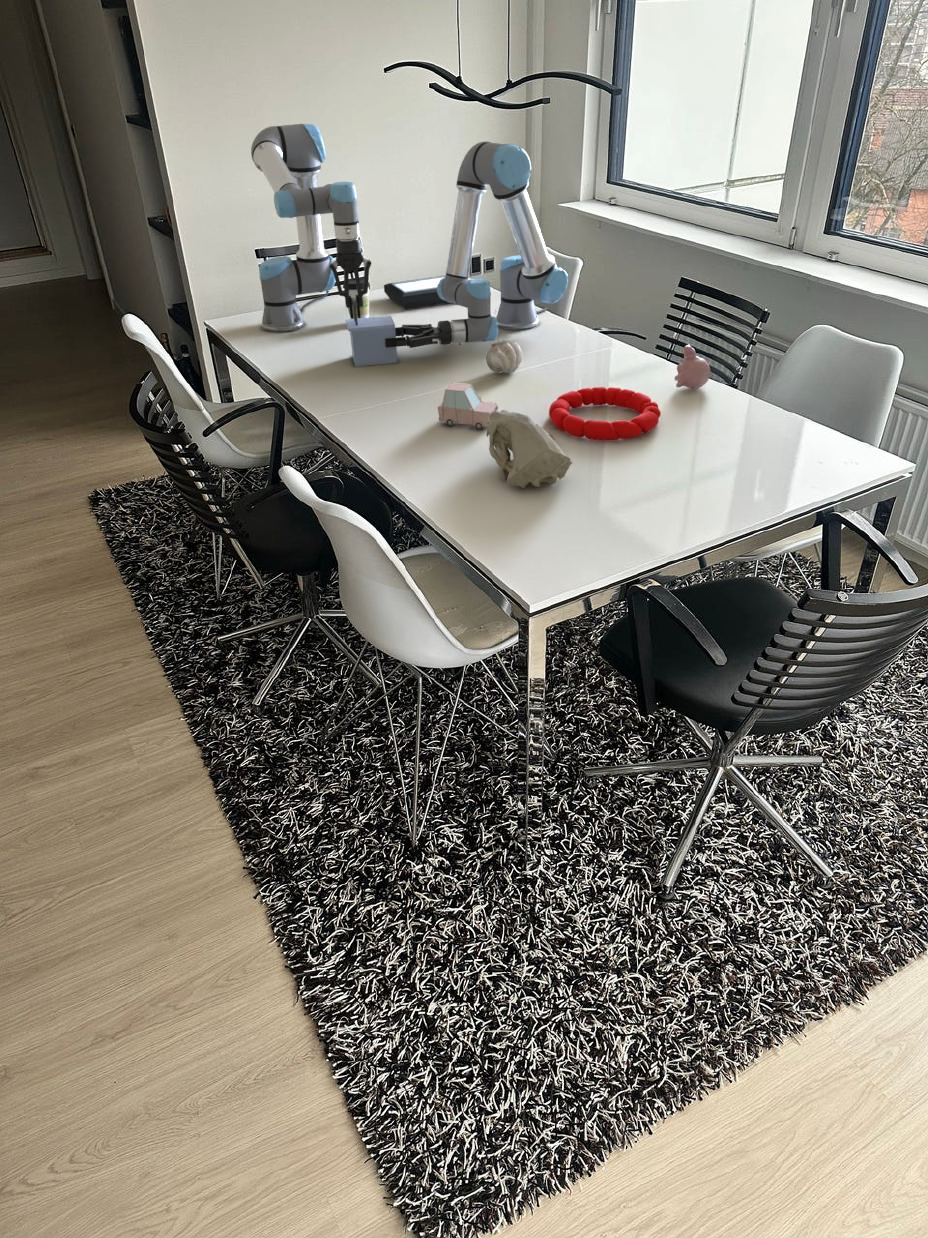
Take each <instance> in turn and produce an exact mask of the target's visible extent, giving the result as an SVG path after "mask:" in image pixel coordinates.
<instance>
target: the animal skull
mask: <svg viewBox="0 0 928 1238" xmlns="http://www.w3.org/2000/svg"><path fill="white" fill-rule="evenodd" d="M485 436H486V438H487V437H489V438H488V440H489V444H488V445H489V446H488V450H489V454H490V456H491V457H492V458H493V459H494V460H495V462H496V464H497V466H499V468H500V470H501V471H502V472H501V478H502V479H507V480H506V484H507V486H517V487H518V486H519V488H523V489H524V488H526V486H527V485H529V483H531V485H533V486H534V487H536V488H540V485H541V484H542V482H544V483H549V484H550V485H553V484H555V483H556V482H557V480H561V479H563V478H565V476H566V474H567V472H568V471H569V469H570V467H571V466H572V464H573V462H572V461H571V458H570V457H568V456H567V455H565V453H564V451H562V449H561V448H560V446H559V444H557V443H556V439H555V438H554V436H553V435H551V434H550V433H548V432H547V431H546V430H545V429H544V428H542V427H541V426H539V425H538V424H537V423H536V424H535V422H534V421H533V419H532V418H531V417H530V416H529V415H527V414H524V413H519V412H515V411H509V410H507V409H502V410H500V411H499V410H497V411H496V412H492V413H491V414H490V422H488V423H487V427H486V435H485ZM511 453H512V454H511ZM511 455H512V457H513V458H512V460H511ZM507 474H508V475H507Z"/></svg>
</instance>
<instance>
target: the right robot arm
mask: <svg viewBox="0 0 928 1238" xmlns="http://www.w3.org/2000/svg"><path fill="white" fill-rule="evenodd" d="M531 170H532V164H531V160H530V157H529V155H528V153H527V152H526V151H525V149H523V147H520V146H519V145H515V144H512V143H499V142H491V141H480V142H477V143H476V144H473V146H471V147H470V149H468V151H467V152H466V154H465V155H464V157H463V159H462V161H461V164H460V166H459V170H458V174H457V179H456V185H455V187H456V188H457V190H458V193H457V199H456V206H455V211H454V212H455V213H454V217H453V226H452V232H451V236H450V237H451V238H450V243H449V244H450V245H449V252H448V258H447V264H446V270H445V275H446V276H445V275H444V276H445V277H444V278H442V279H441V280H440V282H439V284H438V285H437V293H438V296H439V297H440V298H441V299H442V300H445V301H447V302H449V303H448V304H454V305H456V306H460V307H463V308H466V309H467V318H460V319H459V318H458V319H451V320H439V321H438V322H437V326H436V327H435V326H434V327H433V326H432V324H431V323H428V324H427V323H426V324H402V326H399V327H398V326H397V327H396V326H395V333H396V338H386V339H385V342H386V348H388V347H408V348H410V349H412V348H419V347H423V346H429V345H438V344H439V345H440V346H444V345H451V344H453V345H455V344H456V345H457V344H458V345H459V346H460V345H462V344H466V343H467V344H468V343H479V342H480V343H481V342H484V343H485V342H490V341H495V340H497V338H498V335H499V328H501V329H505V330H512V331H516V330H517V331H519V330H520V331H521V330H528V329H533V328H535V327H537V326H538V325H539V316H538V314H541V313H542V312H545V311H547V310H548V307H544V308H543V309H541V310H537V309H536V305H535V303H534V301H536V302H539V303H542V304H549V305H552V304H555V303H558V302H559V301H560V300H561V299H562V298H563V297H564V295H565V293H566V290H567V287H568V284H569V278H568V273H567V272H566V270H565V269H563V268H562V267H558V265H557V261H556V259H555V256H554V255H553V254H551V253H549V252H548V250H547V247H546V244H545V241H544V238H543V235H542V232H541V228H540V226H539V222H538V220H537V217H536V214H535V211H534V209H533V206H532V202H531V199H530V197H529V193H528V190H527V189H528V186H529V184H530V181H529V179H530V177H531V173H530V171H531ZM488 185H489V187H490V190H491V192H492V195H493V197H494V199H495V200H498V201H500V203H501V205H502V209H503V211H504V214H505V217H506V219H507V222H508V225H509V227H510V230H511V234H512V236H513V239H514V241H515V244H516V247H517V250H518V253H519V255H512V256H508V257H507V256H506V257H504V258H503V259H502V260H501V261H500V270H499V273H500V275H499V277H500V278H499V279H500V280H499V281H500V282H499V283H500V304H499V307H498V310H497V309H494V314H495V315H496V316H492V314H491V311H492V310H491V307H492V306H491V301H492V300H491V299H492V297H491V296H492V293H491V283H490V281H489V279H486V278H472V279H469V274H470V268H471V262H472V257H473V251H474V245H475V239H476V233H477V228H478V221H479V214H480V210H481V204H482V198H483V195H484V194H485V193H486V192H487V187H488ZM468 280H469V281H468Z"/></svg>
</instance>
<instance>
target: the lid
mask: <svg viewBox="0 0 928 1238" xmlns="http://www.w3.org/2000/svg"><path fill="white" fill-rule="evenodd" d="M357 305H358V304H357V301H356V299H355V298H352V306H353V312H354V319H351V318H349V319H347V318H346V319H345V324H346V327H347V331H348V332H349V333H350V331H362V330H373V329H384V328H396V324H395V322H394V320H393V317H392V315H383V316H372V317H371V316H369V317H368V318H358V319H357V310H356V307H357Z"/></svg>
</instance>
